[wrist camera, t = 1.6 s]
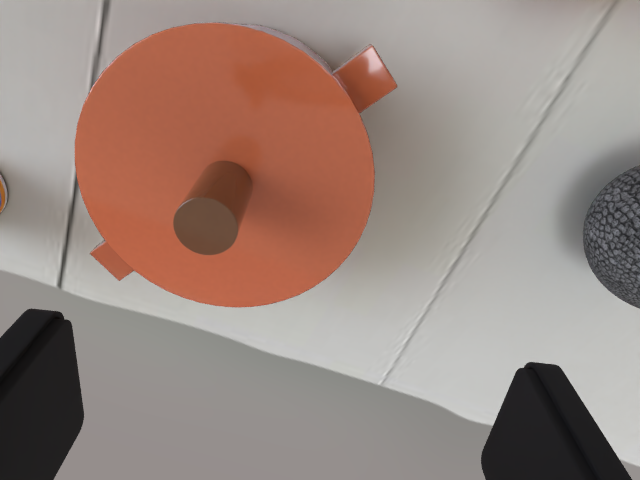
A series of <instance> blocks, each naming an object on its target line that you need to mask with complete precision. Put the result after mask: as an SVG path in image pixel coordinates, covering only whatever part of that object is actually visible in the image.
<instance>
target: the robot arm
mask: <svg viewBox="0 0 640 480" xmlns="http://www.w3.org/2000/svg"><path fill="white" fill-rule="evenodd" d="M83 419H84V411H83V403H82V396H81V388H80V381H79V374H78V366H77V359H76V352H75V344H74V337H73V330H72V324H71V322H70V321H69V320H64V316H63V315H62V313H61V312H58V311H48V310H39V309H28V310H27V311H25V312H24V313H23V314H22V315H21V316H20V317H19V318H18V319H17V320H16V322H15V323H14V324H13V325H12V326H11V327H10V328H9V329H8V330H7V331H6V332H5V333H4V334H3V336H1V338H0V480H53V479H54V477H55V476H56V474H57V472H58V470H59V468H60V466H61V465H62V463H63V461H64V459H65V458H66V456H67V454H68V452H69V450H70V449H71V447H72V445H73V443H74V441H75V439H76V438H77V436H78V434H79V432H80V430H81V427H82V424H83ZM481 464H482V470H483V473H484V475H485V479H486V480H632V479H631V477H630V476H629V474H628V472H627V471H626V469H625V468H624V466H623V465H622V463H621V461H620V460H619V458H618V457H617V455H616V454H615V452H614V451H613V449H612V447H611V446H610V444H609V443H608V441H607V440H606V438H605V436H604V435H603V433H602V432H601V430H600V429H599V427H598V425H597V424H596V422H595V421H594V419H593V418H592V416H591V414H590V413H589V411H588V410H587V408H586V407H585V405H584V403H583V402H582V400H581V399H580V397H579V396H578V394H577V392H576V391H575V389H574V388H573V386H572V385H571V383H570V381H569V380H568V378H567V377H566V375H565V374H564V372H563V371H562V369H561V368H560V367H559V366H557V365H553V364H544V363H534V362H529V363H527V364H526V365H525V367H524V368H519V369H518V370H517V372H516V373H515V376H514V378H513V380H512V383H511V385H510V387H509V390H508V392H507V395H506V397H505V399H504V402H503V404H502V406H501V409H500V411H499V413H498V416H497V418H496V420H495V423H494V425H493V428H492V430H491V432H490V435H489V437H488V439H487V442H486V444H485V446H484V449H483V451H482V457H481Z"/></svg>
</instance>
